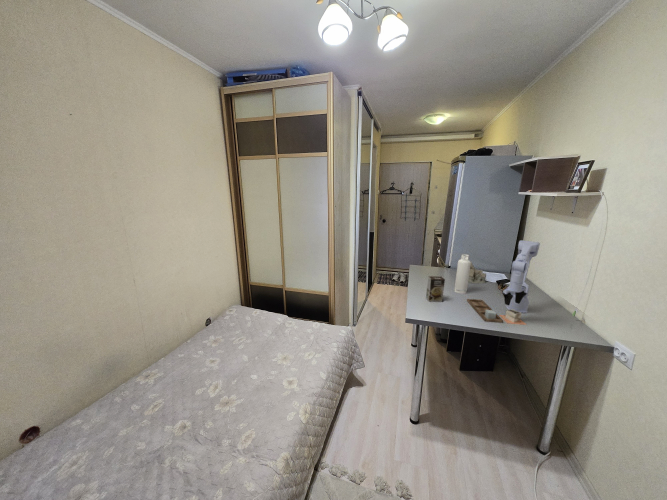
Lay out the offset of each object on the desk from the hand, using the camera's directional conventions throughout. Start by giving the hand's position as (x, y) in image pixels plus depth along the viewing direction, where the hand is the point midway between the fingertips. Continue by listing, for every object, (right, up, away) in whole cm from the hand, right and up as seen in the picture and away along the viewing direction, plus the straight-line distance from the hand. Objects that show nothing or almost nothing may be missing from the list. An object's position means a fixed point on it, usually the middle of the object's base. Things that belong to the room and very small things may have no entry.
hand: (512, 303), depth 143 cm
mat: (0, -10, 0) cm, 10 cm away
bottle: (-9, 0, +41) cm, 42 cm away
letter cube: (0, -9, 0) cm, 9 cm away
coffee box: (-34, -3, +26) cm, 44 cm away
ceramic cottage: (+13, +5, +63) cm, 64 cm away
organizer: (-11, -7, +10) cm, 16 cm away
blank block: (-12, -9, +2) cm, 15 cm away
